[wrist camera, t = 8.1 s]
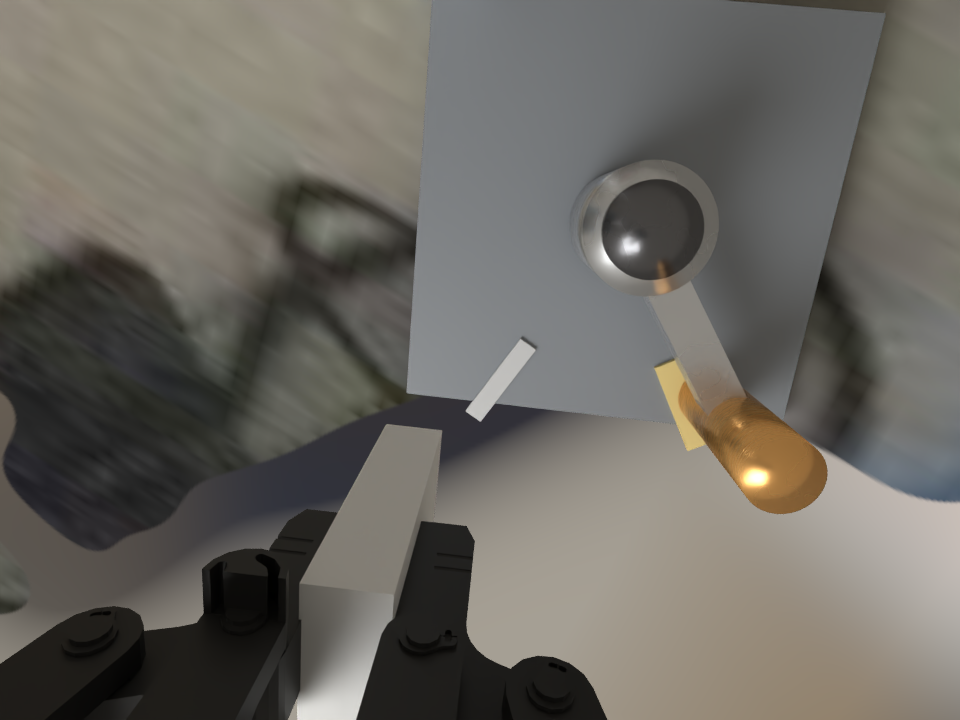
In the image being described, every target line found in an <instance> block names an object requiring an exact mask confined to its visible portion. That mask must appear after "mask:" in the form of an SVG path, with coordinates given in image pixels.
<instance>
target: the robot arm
mask: <svg viewBox="0 0 960 720" xmlns="http://www.w3.org/2000/svg"><path fill="white" fill-rule="evenodd" d="M441 436H442V431H441V430H432V429H424V428H416V427H407V426H398V425H389V424H386V426H385V428H384V429H383V431H382V433H381V435H380V437H379V439H378V440H377V442H376V444H375V446H374V448H373V450H372V451H371V453H370V455H369V457H368V459H367V460H366V462H365V464H364V466H363V468H362V470H361V472H360V473H359V475H358V477H357V479H356V481H355V482H354V485H353V486H352V488H351V490H350V492H349V493H348V495H347V497H346V499H345V501H344V503H343V504H342V506H341V508H340V510H339V512H338V513H334V512H327V511H318V510H309V509H306V510H304V511H303V512H301V513H300V514H298V515H297V516H295V517H294V518H292V519H290V520H289V521H288V522H287V524H286V525H285V526H284V528H283V529H282V531H281V532H280V534H279V535H278V539H276V540H275V541H274V543H273V544H272V545H271V547H270V550H269V551H268V550H264V549H243V550H237V551H233V552H229V553H226V554H224V555H222V556H220V557H218V558H215V559H213V560H212V561H211V562H210V563H208V564H207V565H206V566H205V567H204V568H203V569H202V581H203V605H204V606H203V607H204V614H203V615H202V616H201V618H200V619H199V621H198V622H197V623H195V624H191V625H186V626H181V627H174V628H165V629H157V630H149V631H144V625H143V622H142V620H141V617H140V615H139V614H137V613H136V612H134V611H133V610H131V609H129V608H121V607H115V606H112V607H104V608H95V609H92V610H89V611H86V612H82V613H79V614H76V615H74V616H72V617H70V618H69V619H67V620H65V621H63V622H61V623H60V624H58V625H56V626H55V627H53V628H52V629H50V630H49V631H47V632H46V633H44V634H43V635H41V636H40V637H39V638H37V639H36V640H34V641H33V642H31V643H30V644H29V645H27V646H26V647H24V648H23V649H21V650H20V651H18V652H17V653H15V654H14V655H12V656H11V657H10V658H8V659H7V660H5V661H4V662H2V663H1V664H0V720H288V718H289V716H290V713H291V711H292V708H293V705H294V704H295V701H296V699H297V697H298V702H297V720H607V718H606V716H605V713H604V711H603V709H602V707H601V705H600V702H599V700H598V698H597V696H596V694H595V691H594V689H593V687H592V686H591V684H590V683H589V681H588V680H587V678H586V677H585V675H584V674H582V672H580V671H579V670H578V669H576V668H575V667H574V666H572V665H571V664H570V663H567V662H565V661H562V660H560V659H557V658H554V657H545V656H535V657H531V658H527V659H523V660H522V661H520V662H519V663H517V664H516V665H515V666H514V667H512V668H511V669H509V668H507V667H505V666H502V665H500V664H497V663H495V662H494V661H492V660H490V659H488V658H486V657H485V656H484V655H482V654H481V653H480V652H479V651H477V649H476V648H475V647H474V645H473V644H472V643H471V641H470V639H469V637H468V634H467V628H466V620H467V611H468V601H469V591H470V582H471V572H472V562H473V551H474V543H475V541H474V539H473V537H472V535H471V534H470V532H469V530H468V528H467V526H461V525H452V524H444V523H435V522H434V515H435V503H436V491H437V482H438V469H439V458H440V448H441Z"/></svg>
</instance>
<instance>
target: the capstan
mask: <svg viewBox="0 0 960 720" xmlns="http://www.w3.org/2000/svg"><path fill="white" fill-rule="evenodd" d="M718 231H719V216H718V209H717V205H716V202H715V199H714V197H713V195H712V193H711V191H710V189H709V187H708V186H707V185H706V183H705V182H704V181H703V180H702V179H701V178H700V177H699V176H698V175H697V174H696V173H694V172H693V171H692V170H690V169H689V168H687V167H685V166H683V165H681V164H678V163H675V162H672V161H667V160H656V159H655V160H644V161H640V162H636V163H633V164H630V165H627V166H625V167H622V168H619V169H617V170H614V171H612V172H609V173H607V174H604V175H602V176H600V177H598V178H596V179H595V180H593V181H592V182H590V183H589V184H588V185H587V186H586V187H585V188H584V189H583V190H582V191H581V192H580V194H579V195H578V197H577V198H576V200H575V202H574V204H573V207H572V209H571V213H570V217H569V235H570V239H571V243H572V246H573V248H574V250H575V252H576V253H577V255H578V256H579V258H580V259H581V260H582V261H583V262H584V263H585V264H586V265H587V266H588V267H589V268H590V269H591V270H593V271H594V272H595V273H596V274H597V275H598V276H599V277H600V278H601V279H602V280H603V281H604V282H605V283H607V284H608V285H610V286H611V287H612V288H614V289H616V290H618V291H620V292H623V293H626V294H629V295H634V296H643V298H644V300H645V302H646V304H647V306H648V308H649V310H650V312H651V314H652V316H653V318H654V320H655V322H656V324H657V326H658V328H659V330H660V332H661V334H662V336H663V338H664V340H665V342H666V344H667V346H668V348H669V350H670V352H671V354H672V356H673V357H674V359H675V361H676V363H677V365H678V367H679V369H680V371H681V373H682V375H683V377H684V379H685V382H684V383H683V385H682V386H681V388H680V391H679V395H678V404H679V407H680V410H681V412H682V413H683V415H684V416H685V417H686V419H687V420H688V421H689V423H690V424H691V425H692V426H693V428H694V429H695V430H696V432H697V433H698V434H699V436H700V437H701V438H702V440H703V441H704V442H705V443H706V445H707V446H708V447H709V449H710V450H711V451H712V453H713V454H714V455H715V456H716V458H717V459H718V460H719V462H720V463H721V464H722V466H723V467H724V468H725V470H726V471H727V472H728V473H729V475H730V476H731V477H732V479H733V480H734V481H735V483H736V484H737V485H738V487H739V488H740V489H741V491H742V492H743V493H744V494H745V496H746V497H747V498H748V500H749V501H750V502H751V503H752V504H753V505H755V506H756V507H757V508H759V509H761V510H763V511H766V512H769V513H774V514H786V513H792V512H796V511H798V510H801V509H803V508H805V507H807V506H808V505H810V504H811V503H812V502H813V501H815V499H817V498H818V496H819V495H820V494H821V492H822V491H823V489H824V487H825V484H826V480H827V465H826V462H825V460H824V458H823V456H822V455H821V453H820V452H819V451H818V450H817V449H816V448H815V447H814V446H813V445H811V444H810V443H809V442H808V441H806V440H805V439H804V438H803V437H802V436H800V435H799V434H798V433H797V432H796V431H794V430H793V429H792V428H791V427H790V426H788V425H787V424H786V423H785V422H784V421H782V420H781V419H780V418H779V417H778V416H776V415H775V414H774V413H773V412H772V411H770V410H769V409H768V408H767V407H766V406H764V405H763V404H762V403H761V402H760V401H758V400H757V399H756V398H755V397H754V396H752V395H751V394H750V393H749V392H747V391H746V390H745V389H744V388H743V387H742V386H741V384H740V382H739V380H738V378H737V376H736V374H735V372H734V370H733V368H732V366H731V364H730V361H729V359H728V357H727V355H726V353H725V351H724V349H723V347H722V345H721V343H720V341H719V339H718V337H717V335H716V333H715V331H714V328H713V326H712V324H711V322H710V320H709V318H708V316H707V314H706V312H705V310H704V308H703V306H702V304H701V302H700V300H699V297H698V295H697V293H696V291H695V289H694V287H693V285H692V283H691V280H692V279H693V278H694V277H695V276H696V275H697V274H698V273H699V272H700V271H701V270H702V269H703V267H704V266H705V265H706V263H707V262H708V260H709V258H710V257H711V255H712V252H713V250H714V248H715V245H716V241H717V237H718Z"/></svg>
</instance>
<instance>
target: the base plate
mask: <svg viewBox="0 0 960 720" xmlns="http://www.w3.org/2000/svg"><path fill="white" fill-rule="evenodd" d="M885 16H886V13H875V12H863V11H851V10H839V9H826V8H814V7H802V6H789V5H777V4H765V3H753V2H740V1H728V0H432V8H431V24H430V39H429V55H428V70H427V86H426V101H425V116H424V132H423V147H422V163H421V178H420V194H419V209H418V225H417V240H416V256H415V271H414V287H413V302H412V317H411V333H410V348H409V364H408V379H407V393H410V394H419V395H428V396H437V397H445V398H454V399H462V400H471V401H472V403H471V404H470V405H469V407H468V408H467V409H466V412H467V413H469V414H470V415H472V416H473V417H475V418H476V419H477V420H479V421H480V422H481V420H482V419H483V418H484V416H485V415H486V414H487V413H488V411H489V410H490V408H491V407H492V406H493V405H494V403H497V404H505V405H514V406H523V407H531V408H540V409H549V410H558V411H567V412H575V413H583V414H593V415H601V416H609V417H618V418H627V419H635V420H644V421H653V422H662V423H670V424H677V426H678V429H679V432H680V434H681V437H682V439H683V442H684V444H685V447H686V449H687V450H688V451H689V450H692V449H695V448H697V447H700V446H703V445H705V444H706V443H705V442H704V441H703V440H702V438H701V437H700V436H699V434H698V433H697V432H696V430H695V429H694V428H693V426H692V425H691V424H690V423H689V421H688V420H687V419H686V417H685V416H684V415H683V413H682V412H681V410H680V407H679V404H678V395H679V391H680V388H681V386H682V385H683V383H684V382H685V379H684V377H683V375H682V373H681V371H680V369H679V367H678V365H677V363H676V361H675V359H674V357H673V356H672V354H671V352H670V350H669V348H668V346H667V344H666V342H665V340H664V338H663V336H662V334H661V332H660V330H659V328H658V326H657V324H656V322H655V320H654V318H653V316H652V314H651V312H650V310H649V308H648V306H647V304H646V302H645V300H644V298H643V296H634V295H629V294H626V293H623V292H620V291H618V290H616V289H614V288H612V287H611V286H610V285H608V284H607V283H605V282H604V281H603V280H602V279H601V278H600V277H599V276H598V275H597V274H596V273H595V272H594V271H593V270H591V269H590V268H589V267H588V266H587V265H586V264H585V263H584V262H583V261H582V260H581V259H580V258H579V256H578V255H577V253H576V252H575V250H574V248H573V246H572V243H571V239H570V235H569V217H570V213H571V209H572V207H573V204H574V202H575V200H576V198H577V197H578V195H579V194H580V192H581V191H582V190H583V189H584V188H585V187H586V186H587V185H588V184H589V183H590V182H592V181H593V180H595V179H596V178H598V177H600V176H602V175H604V174H607V173H609V172H612V171H614V170H617V169H619V168H622V167H625V166H627V165H630V164H633V163H636V162H640V161H644V160H655V159H656V160H667V161H672V162H675V163H678V164H681V165H683V166H685V167H687V168H689V169H690V170H692V171H693V172H694V173H696V174H697V175H698V176H699V177H700V178H701V179H702V180H703V181H704V182H705V183H706V185H707V186H708V187H709V189H710V191H711V193H712V195H713V197H714V199H715V202H716V205H717V209H718V216H719V231H718V237H717V241H716V245H715V248H714V250H713V252H712V255H711V257H710V258H709V260H708V262H707V263H706V265H705V266H704V267H703V269H702V270H701V271H700V272H699V273H698V274H697V275H696V276H695V277H694V278H693V279H692V280H691V283H692V285H693V287H694V289H695V291H696V293H697V295H698V297H699V300H700V302H701V304H702V306H703V308H704V310H705V312H706V314H707V316H708V318H709V320H710V322H711V324H712V326H713V328H714V331H715V333H716V335H717V337H718V339H719V341H720V343H721V345H722V347H723V349H724V351H725V353H726V355H727V357H728V359H729V361H730V364H731V366H732V368H733V370H734V372H735V374H736V376H737V378H738V380H739V382H740V384H741V386H742V387H743V388H744V389H745V390H746V391H747V392H749V393H750V394H751V395H752V396H754V397H755V398H756V399H757V400H758V401H760V402H761V403H762V404H763V405H764V406H766V407H767V408H768V409H769V410H770V411H772V412H773V413H774V414H775V415H776V416H778V417H779V418H780V419H781V420H782V421H783V418H784V414H785V410H786V406H787V402H788V398H789V394H790V390H791V386H792V382H793V378H794V375H795V371H796V367H797V363H798V359H799V355H800V351H801V347H802V343H803V339H804V335H805V331H806V327H807V323H808V319H809V315H810V311H811V307H812V304H813V300H814V296H815V292H816V288H817V284H818V280H819V276H820V272H821V268H822V264H823V260H824V256H825V252H826V248H827V244H828V240H829V236H830V233H831V229H832V225H833V221H834V217H835V213H836V209H837V205H838V201H839V197H840V193H841V189H842V185H843V181H844V177H845V173H846V169H847V165H848V162H849V158H850V154H851V150H852V146H853V142H854V138H855V134H856V130H857V126H858V122H859V118H860V114H861V110H862V106H863V102H864V98H865V94H866V91H867V87H868V83H869V79H870V75H871V71H872V67H873V63H874V59H875V55H876V51H877V47H878V43H879V39H880V35H881V31H882V27H883V23H884V20H885Z"/></svg>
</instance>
